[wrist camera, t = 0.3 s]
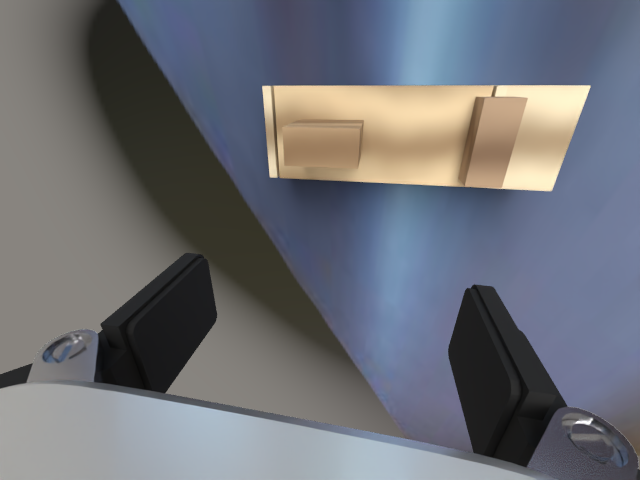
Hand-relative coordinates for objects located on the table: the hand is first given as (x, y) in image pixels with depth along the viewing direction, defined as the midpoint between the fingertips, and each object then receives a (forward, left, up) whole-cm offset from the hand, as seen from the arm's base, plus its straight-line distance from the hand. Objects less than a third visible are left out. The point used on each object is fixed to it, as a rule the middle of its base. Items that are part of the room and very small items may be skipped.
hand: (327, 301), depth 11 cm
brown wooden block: (-3, +11, -21) cm, 24 cm away
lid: (-3, +1, -22) cm, 23 cm away
